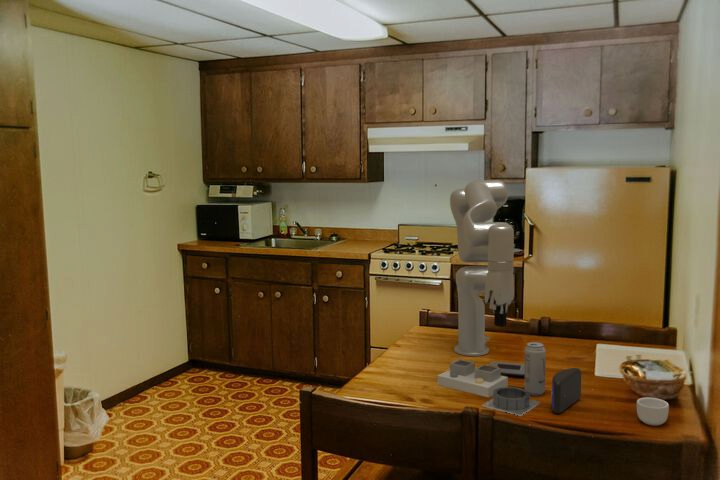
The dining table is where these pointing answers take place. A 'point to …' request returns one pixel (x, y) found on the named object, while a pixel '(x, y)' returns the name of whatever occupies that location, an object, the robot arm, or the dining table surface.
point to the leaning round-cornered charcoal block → (565, 389)
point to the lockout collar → (511, 401)
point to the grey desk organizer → (472, 378)
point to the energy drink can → (535, 368)
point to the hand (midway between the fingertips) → (500, 325)
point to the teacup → (652, 410)
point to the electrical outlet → (510, 368)
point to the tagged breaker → (487, 369)
